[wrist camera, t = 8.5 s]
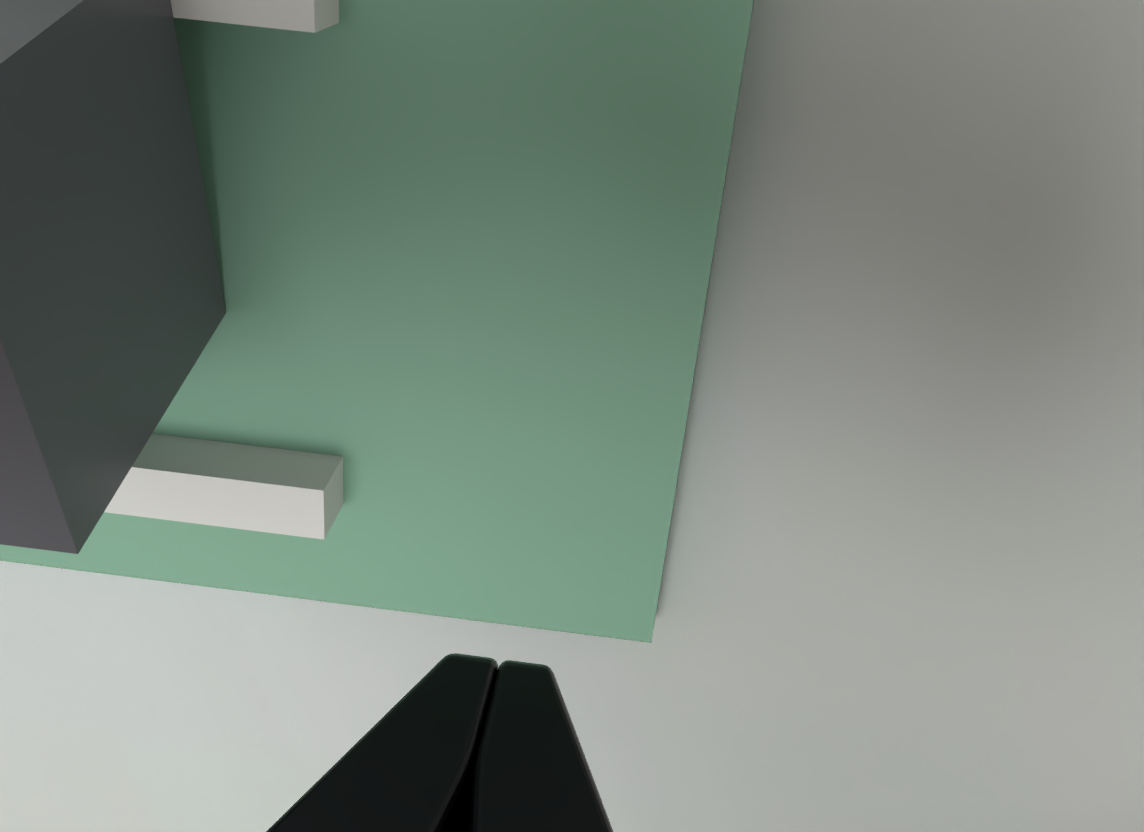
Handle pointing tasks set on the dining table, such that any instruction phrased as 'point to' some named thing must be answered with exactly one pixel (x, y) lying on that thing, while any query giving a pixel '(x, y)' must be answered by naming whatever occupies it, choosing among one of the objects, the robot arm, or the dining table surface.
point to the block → (93, 255)
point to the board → (440, 306)
